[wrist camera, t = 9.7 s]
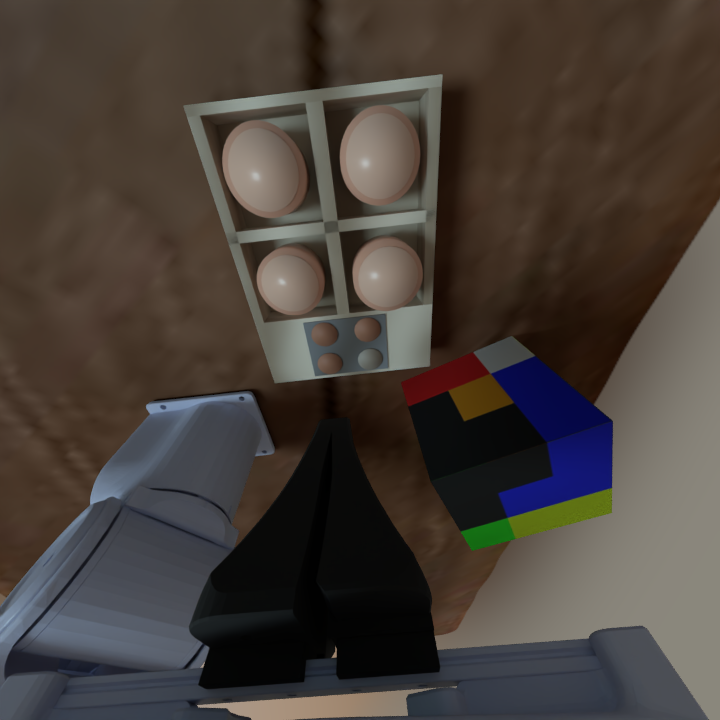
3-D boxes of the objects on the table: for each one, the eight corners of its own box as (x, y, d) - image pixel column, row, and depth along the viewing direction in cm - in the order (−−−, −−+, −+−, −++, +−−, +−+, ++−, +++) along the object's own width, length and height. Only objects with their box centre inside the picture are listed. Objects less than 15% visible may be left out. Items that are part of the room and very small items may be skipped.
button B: (355, 302, 18) (357, 315, 16) (348, 238, 16) (349, 244, 14) (414, 295, 18) (422, 307, 16) (414, 231, 16) (424, 236, 14)
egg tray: (281, 366, 23) (274, 384, 21) (206, 118, 14) (181, 104, 12) (421, 350, 23) (430, 367, 21) (428, 91, 14) (443, 72, 12)
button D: (345, 208, 16) (345, 209, 14) (335, 121, 14) (334, 109, 12) (410, 200, 16) (420, 201, 14) (410, 112, 14) (421, 99, 12)
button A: (274, 306, 19) (266, 319, 17) (258, 247, 17) (247, 253, 15) (330, 300, 19) (328, 312, 17) (320, 239, 17) (317, 245, 15)
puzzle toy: (511, 335, 23) (612, 420, 14) (528, 413, 27) (611, 512, 19) (400, 382, 24) (430, 481, 16) (435, 447, 29) (472, 550, 21)
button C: (250, 219, 16) (237, 222, 14) (227, 134, 14) (208, 124, 12) (315, 211, 16) (311, 213, 14) (301, 125, 14) (295, 114, 12)
